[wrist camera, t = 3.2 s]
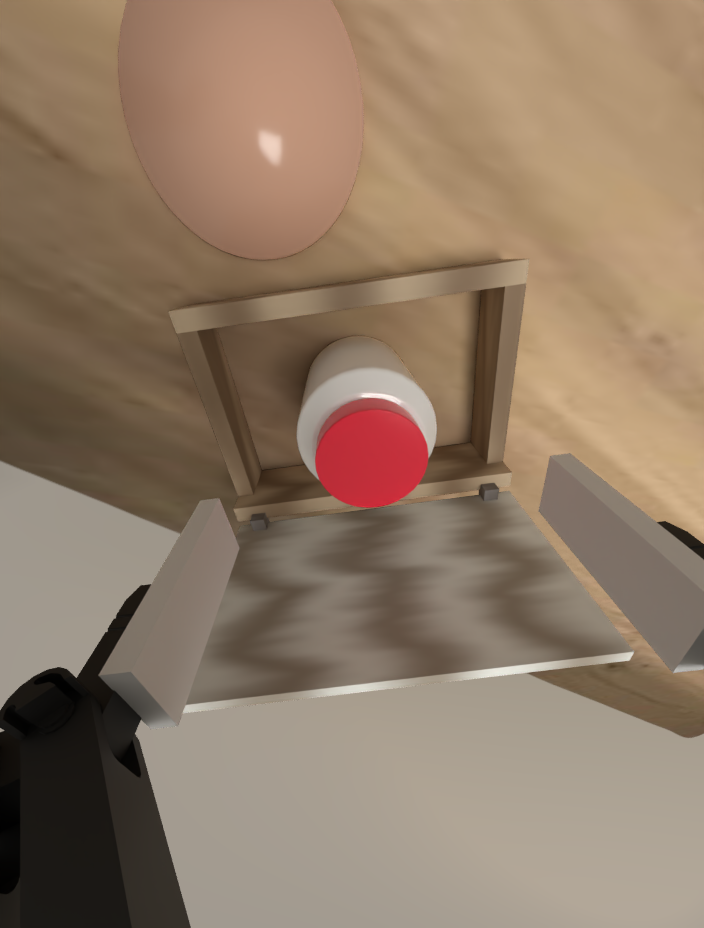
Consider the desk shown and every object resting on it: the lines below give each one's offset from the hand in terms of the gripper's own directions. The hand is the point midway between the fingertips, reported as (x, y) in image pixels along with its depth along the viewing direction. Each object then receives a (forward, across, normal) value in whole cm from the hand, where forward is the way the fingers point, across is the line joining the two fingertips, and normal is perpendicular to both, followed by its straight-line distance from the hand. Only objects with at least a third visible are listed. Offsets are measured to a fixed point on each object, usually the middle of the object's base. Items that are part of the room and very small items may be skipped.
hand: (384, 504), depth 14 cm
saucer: (+14, -4, +15) cm, 21 cm away
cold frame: (+14, 0, 0) cm, 14 cm away
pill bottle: (+14, 0, 0) cm, 14 cm away
